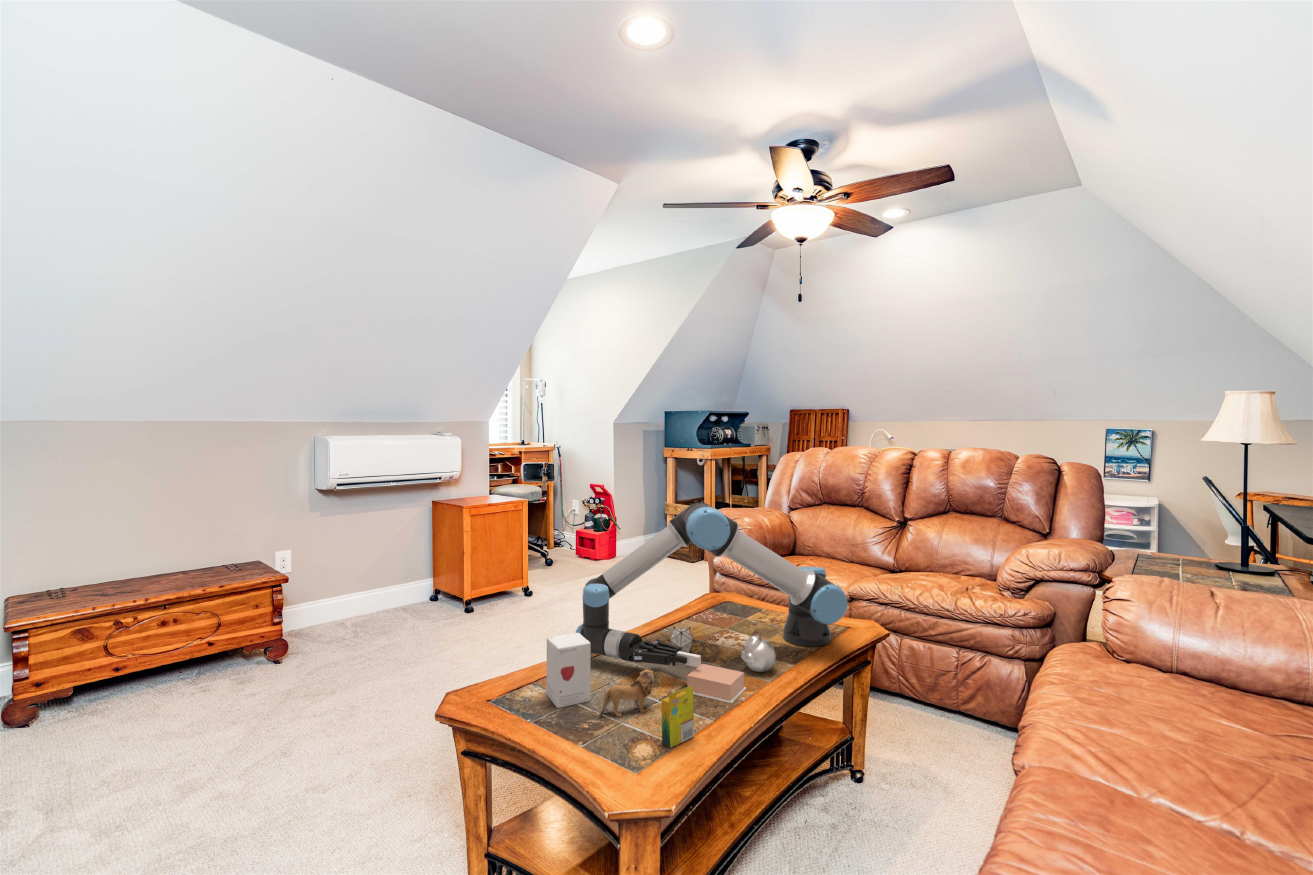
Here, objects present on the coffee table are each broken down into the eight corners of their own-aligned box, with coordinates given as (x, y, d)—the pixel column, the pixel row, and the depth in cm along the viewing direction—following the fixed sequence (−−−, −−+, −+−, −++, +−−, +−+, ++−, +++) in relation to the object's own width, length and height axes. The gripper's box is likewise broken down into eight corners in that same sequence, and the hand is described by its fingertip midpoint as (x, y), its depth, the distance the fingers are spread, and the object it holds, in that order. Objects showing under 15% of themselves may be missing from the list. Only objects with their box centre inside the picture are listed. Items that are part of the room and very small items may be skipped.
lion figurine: (648, 700, 156) (648, 664, 155) (659, 708, 151) (659, 672, 151) (594, 713, 149) (594, 676, 148) (604, 723, 144) (603, 684, 144)
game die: (685, 664, 189) (703, 635, 191) (684, 664, 181) (702, 634, 183) (661, 646, 191) (679, 618, 193) (659, 646, 183) (677, 616, 185)
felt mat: (746, 688, 162) (746, 687, 162) (731, 703, 154) (731, 702, 154) (705, 679, 168) (705, 677, 168) (688, 692, 160) (688, 691, 160)
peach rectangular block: (702, 678, 168) (743, 687, 162) (687, 690, 161) (730, 700, 155) (702, 663, 168) (743, 672, 162) (687, 675, 160) (730, 684, 155)
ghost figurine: (744, 662, 180) (744, 628, 180) (777, 666, 177) (777, 632, 177) (738, 674, 172) (738, 638, 171) (772, 679, 168) (772, 642, 168)
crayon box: (685, 732, 140) (685, 680, 139) (694, 737, 137) (694, 685, 137) (660, 743, 135) (660, 690, 135) (669, 748, 133) (669, 694, 132)
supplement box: (556, 709, 151) (556, 648, 151) (545, 694, 159) (545, 637, 159) (591, 701, 155) (591, 642, 155) (579, 687, 163) (578, 631, 163)
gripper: (636, 651, 181) (710, 667, 169) (611, 666, 169) (688, 684, 158) (636, 625, 180) (710, 639, 169) (611, 639, 169) (688, 655, 157)
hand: (699, 661), depth 163 cm, fingers closed
